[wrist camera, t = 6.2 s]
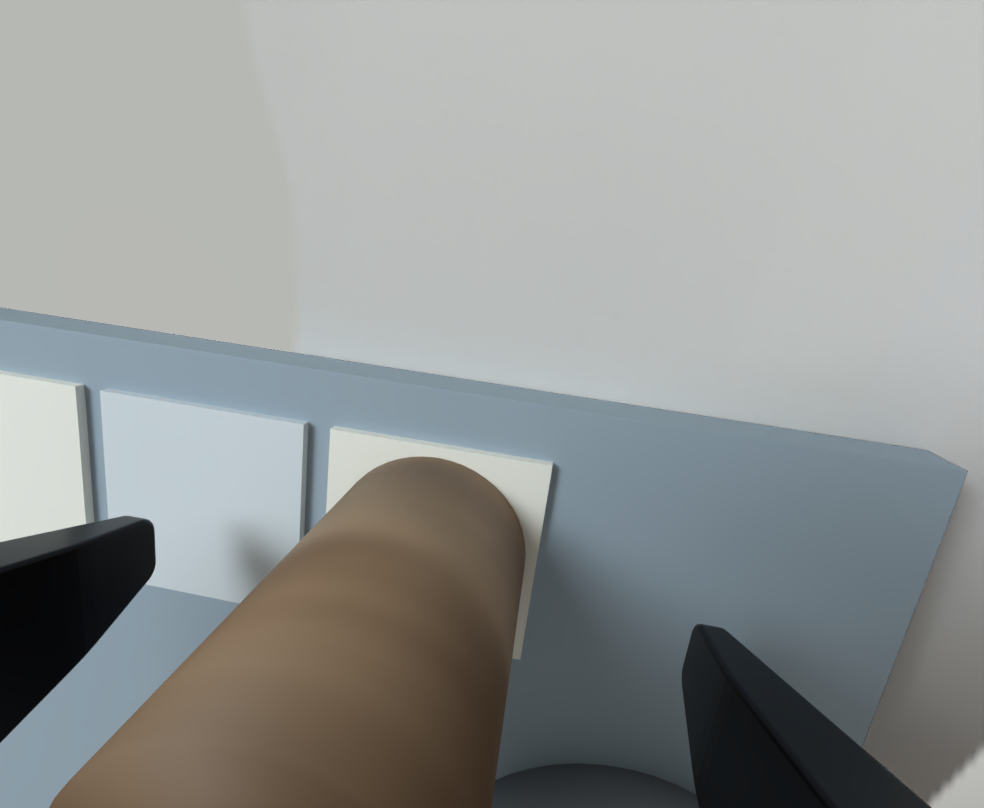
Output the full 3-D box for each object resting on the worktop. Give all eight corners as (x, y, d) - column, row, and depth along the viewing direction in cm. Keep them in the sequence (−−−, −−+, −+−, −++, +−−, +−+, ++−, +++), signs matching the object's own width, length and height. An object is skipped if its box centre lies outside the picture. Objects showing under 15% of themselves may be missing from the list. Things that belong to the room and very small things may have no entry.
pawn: (510, 649, 10) (442, 1131, 5) (330, 612, 11) (56, 1019, 5) (539, 474, 9) (497, 805, 4) (340, 440, 10) (14, 696, 4)
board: (727, 1007, 13) (762, 1167, 11) (-121, 792, 16) (-244, 887, 13) (927, 450, 10) (1047, 512, 7) (-235, 271, 12) (-439, 273, 9)
